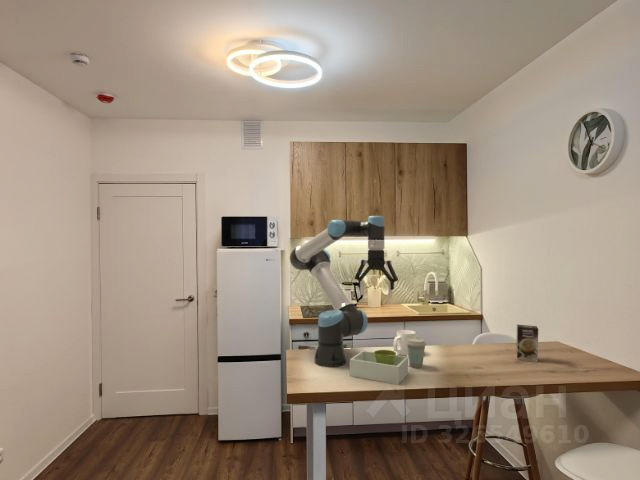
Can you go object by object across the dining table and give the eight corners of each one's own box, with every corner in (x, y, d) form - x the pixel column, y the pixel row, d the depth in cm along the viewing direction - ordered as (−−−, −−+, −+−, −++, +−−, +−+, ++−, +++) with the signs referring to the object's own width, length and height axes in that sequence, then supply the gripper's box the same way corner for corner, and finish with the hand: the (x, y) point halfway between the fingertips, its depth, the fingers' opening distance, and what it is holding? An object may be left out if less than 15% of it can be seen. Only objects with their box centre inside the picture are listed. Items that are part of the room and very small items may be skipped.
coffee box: (516, 360, 193) (517, 326, 193) (515, 356, 199) (516, 324, 199) (538, 362, 190) (538, 328, 190) (536, 358, 196) (536, 325, 196)
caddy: (349, 375, 169) (349, 359, 169) (362, 365, 183) (362, 350, 183) (398, 384, 160) (398, 366, 160) (408, 373, 173) (408, 357, 173)
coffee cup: (426, 369, 178) (426, 342, 178) (406, 368, 180) (406, 341, 180) (425, 363, 186) (425, 338, 186) (406, 362, 188) (406, 337, 188)
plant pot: (378, 377, 165) (378, 356, 165) (370, 370, 174) (370, 350, 174) (399, 376, 167) (399, 355, 167) (390, 368, 176) (391, 349, 176)
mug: (403, 358, 195) (403, 336, 195) (387, 353, 203) (388, 332, 203) (421, 353, 203) (421, 332, 203) (405, 349, 211) (405, 328, 211)
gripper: (347, 249, 187) (347, 294, 187) (400, 250, 175) (400, 298, 175) (354, 248, 193) (353, 292, 194) (405, 249, 182) (404, 296, 182)
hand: (375, 295), depth 184 cm, fingers open, 13 cm apart
